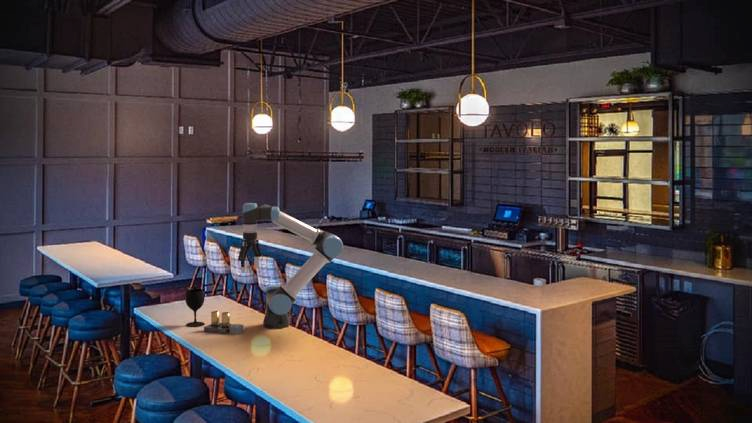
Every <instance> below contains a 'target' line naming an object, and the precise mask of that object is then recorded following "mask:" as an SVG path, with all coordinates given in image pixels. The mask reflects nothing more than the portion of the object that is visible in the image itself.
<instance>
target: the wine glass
mask: <svg viewBox="0 0 752 423" xmlns="http://www.w3.org/2000/svg"><path fill="white" fill-rule="evenodd" d="M184 298H185V304H186V306H187V307H188V308H189V309H190V310H192V311H193V314H194V315H193V316H194V317H193V318H194V319H193V321H190V322H187V323H186V325H185V326H186V327H188V328H199V327H203V326H205V322H203V321H197V311H198V310H200V309H202V306H203V305H204V302H205V292H204V290H203V289H202V288H190V289H188V290H186V292H185V297H184Z"/></svg>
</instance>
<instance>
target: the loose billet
mask: <svg viewBox="0 0 752 423" xmlns="http://www.w3.org/2000/svg"><path fill="white" fill-rule="evenodd" d="M210 314H211V315H210V317H211V318H210V320H211V323H210V324H211V326H213V327H218V326H219V323H220V311H219V310H212V311H211V312H210Z"/></svg>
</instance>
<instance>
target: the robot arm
mask: <svg viewBox="0 0 752 423" xmlns="http://www.w3.org/2000/svg"><path fill="white" fill-rule="evenodd" d="M258 221H259V222H261V221H263V222H264V221H268V222H269V221H270V222H271V223H273V224H275V225H278V226H279V227H282V228H283V229H286V230H287V231H289V232H291V233H293V234H295V235H298V236H299V237H301V238H303V239H305V240H307V241H309V242H310V244H311V245H312V246H313V245H314V246H315V247H314V252H313V254H312V255H311V256H310V257H309V258H308V259H307V260H306V261H305V263H304V264H303V265H302V266H300V268H299V269H298V270H297V271H296V272H295V273H294V274H293V275H292V277H291V278H290V279H289V280H288V281H287V282H286V283H285V284H281V285H280V284H279V285H277V284H276V285H275V284H274V285H267V286H266V288H265V293H266V294H265V295H266V296H265V299H266V300H265V305H266V306H265V307H266V308H265V309H266V310H265V315H264V318H263V321H262V326H263V327H264V328H267V329H283V328H288V327H289V326H290V325H291V322H290V317H289V315H288V313H289V312H290V311H291V308H292V305H293V304H294V303H295V302H296V301H297V296H298V294H299V293H300V292H301V291H302V290H303V289H304V288H305V287H306V286H307V284H308V283H309V282H310V281H311V280H312V279H313V278H314V277H315V276H316V274H317V273H319V272H320V270H321V269H322V268H324V266H325V265H326V264H328V263H329V264H330V263H331V262H332V261H334V259H335V258H337V257H339V256H340V255H341V254H343V251H344V243H343V241H342V239H341V238H340V237H338V236H337V235H336V234H333V233H331V232H329V231H326V230H323V229H320V228H315V227H313V226H311V225H309V224H307V223H305V222H302V221H300V220H299V219H296V218H295V217H293V216H291V215H289V214H287V213H285V212H283V211H281V210H280V208H279V206H271V205H269V204H263V205H261V206H258V203H256V202H245V203H244V204H243V205H242V231H243V233H242V239H243V240H244V241H242V242H241V243H240V244H241V246H240V250H239V254H238V257H237V258H238V259H237V260H238V262H239V261H240V273H241V274H246V273H247V260H246V259H247V257H248V254H249V251H252V253H253V255H254V257H253V259H254V260H253V265H254V267H253V269H255V270H259V269H260V257H262V254H263V253H262V250H261V247H260V244H259V241H260V240H259V239H258Z"/></svg>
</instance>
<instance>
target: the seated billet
mask: <svg viewBox="0 0 752 423" xmlns="http://www.w3.org/2000/svg"><path fill="white" fill-rule="evenodd" d="M230 315H231V314H230V312H229V311H224V312H221V323H222V328H229V327H230V324H231V322H230V321H231V320H230V319H231V316H230Z"/></svg>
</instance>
